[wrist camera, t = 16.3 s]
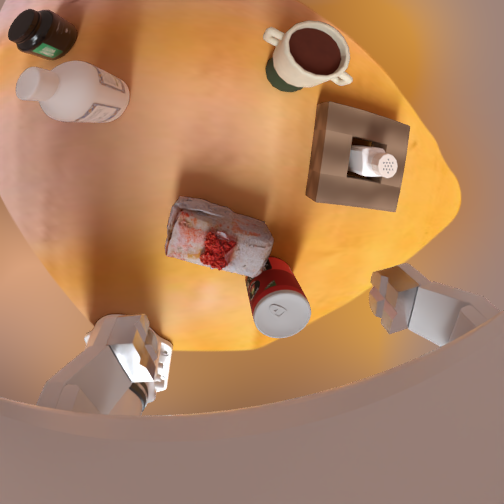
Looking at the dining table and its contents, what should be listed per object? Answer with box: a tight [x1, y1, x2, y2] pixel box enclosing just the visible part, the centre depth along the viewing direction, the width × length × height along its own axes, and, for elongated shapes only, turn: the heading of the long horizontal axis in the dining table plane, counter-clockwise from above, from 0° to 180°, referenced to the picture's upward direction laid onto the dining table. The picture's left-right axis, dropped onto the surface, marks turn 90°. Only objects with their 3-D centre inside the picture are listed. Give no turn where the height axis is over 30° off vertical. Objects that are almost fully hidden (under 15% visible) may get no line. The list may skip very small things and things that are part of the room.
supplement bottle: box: [8, 9, 77, 60], centre depth 18 cm, size 7×7×12 cm
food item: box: [165, 196, 274, 278], centre depth 36 cm, size 14×8×10 cm, turn 72°
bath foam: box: [16, 61, 130, 123], centre depth 21 cm, size 7×7×20 cm
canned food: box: [245, 257, 311, 338], centre depth 40 cm, size 8×8×11 cm
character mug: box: [263, 21, 353, 92], centre depth 26 cm, size 11×7×13 cm, turn 61°
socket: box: [306, 101, 410, 212], centre depth 36 cm, size 14×14×4 cm
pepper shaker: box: [348, 145, 398, 178], centre depth 34 cm, size 4×4×10 cm
